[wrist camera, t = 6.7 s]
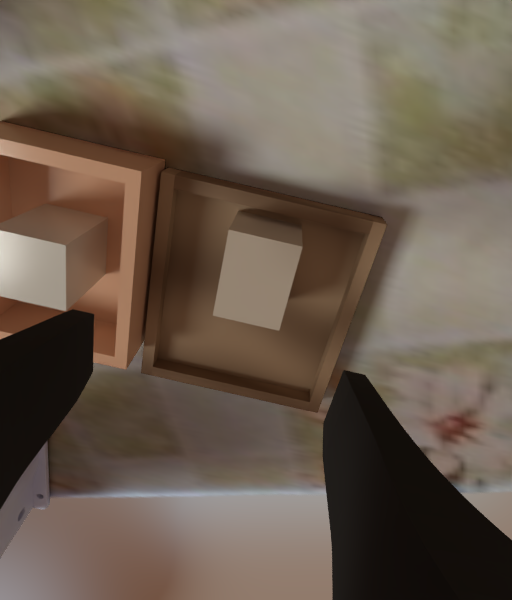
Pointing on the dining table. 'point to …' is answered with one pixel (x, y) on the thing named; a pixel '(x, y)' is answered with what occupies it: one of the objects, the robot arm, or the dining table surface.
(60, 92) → the dining table surface
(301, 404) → the tray
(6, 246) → the stone grey
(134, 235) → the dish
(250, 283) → the stone beige
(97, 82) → the dining table surface
